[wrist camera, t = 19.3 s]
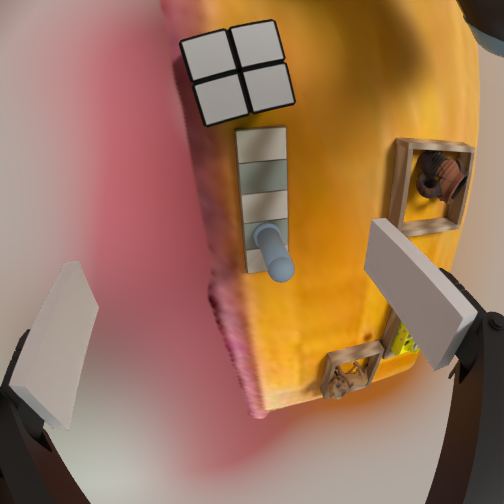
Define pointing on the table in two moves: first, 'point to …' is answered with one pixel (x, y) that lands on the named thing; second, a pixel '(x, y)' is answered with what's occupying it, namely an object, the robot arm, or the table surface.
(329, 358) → the figurine organizer frame
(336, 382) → the lion figurine
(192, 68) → the puzzle cube
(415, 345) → the yellow toy chassis
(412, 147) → the frame
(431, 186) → the pottery mug
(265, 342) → the table surface
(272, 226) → the blue-grey rounded peg
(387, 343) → the camera organizer frame
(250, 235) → the track
